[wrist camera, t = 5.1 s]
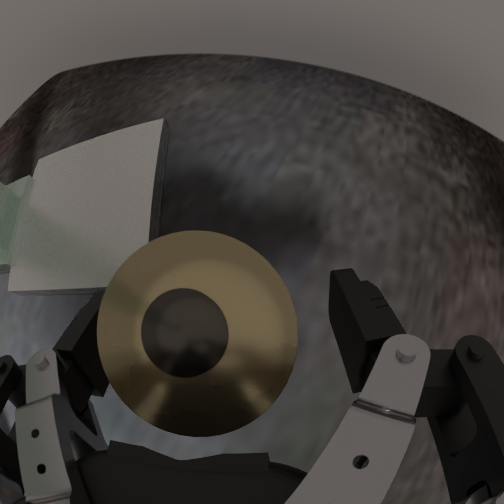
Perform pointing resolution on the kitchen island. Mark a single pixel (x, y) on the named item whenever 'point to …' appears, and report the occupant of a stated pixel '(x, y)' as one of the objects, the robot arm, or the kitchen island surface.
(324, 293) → the kitchen island surface
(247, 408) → the housing
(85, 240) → the press bed
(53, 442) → the robot arm
